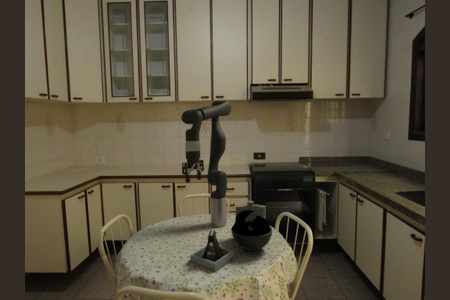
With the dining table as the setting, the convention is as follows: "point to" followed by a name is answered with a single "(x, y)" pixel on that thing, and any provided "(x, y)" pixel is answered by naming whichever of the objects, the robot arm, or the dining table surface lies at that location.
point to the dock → (210, 265)
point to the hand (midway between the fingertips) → (193, 181)
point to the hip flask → (258, 210)
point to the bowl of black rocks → (251, 231)
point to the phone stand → (216, 246)
